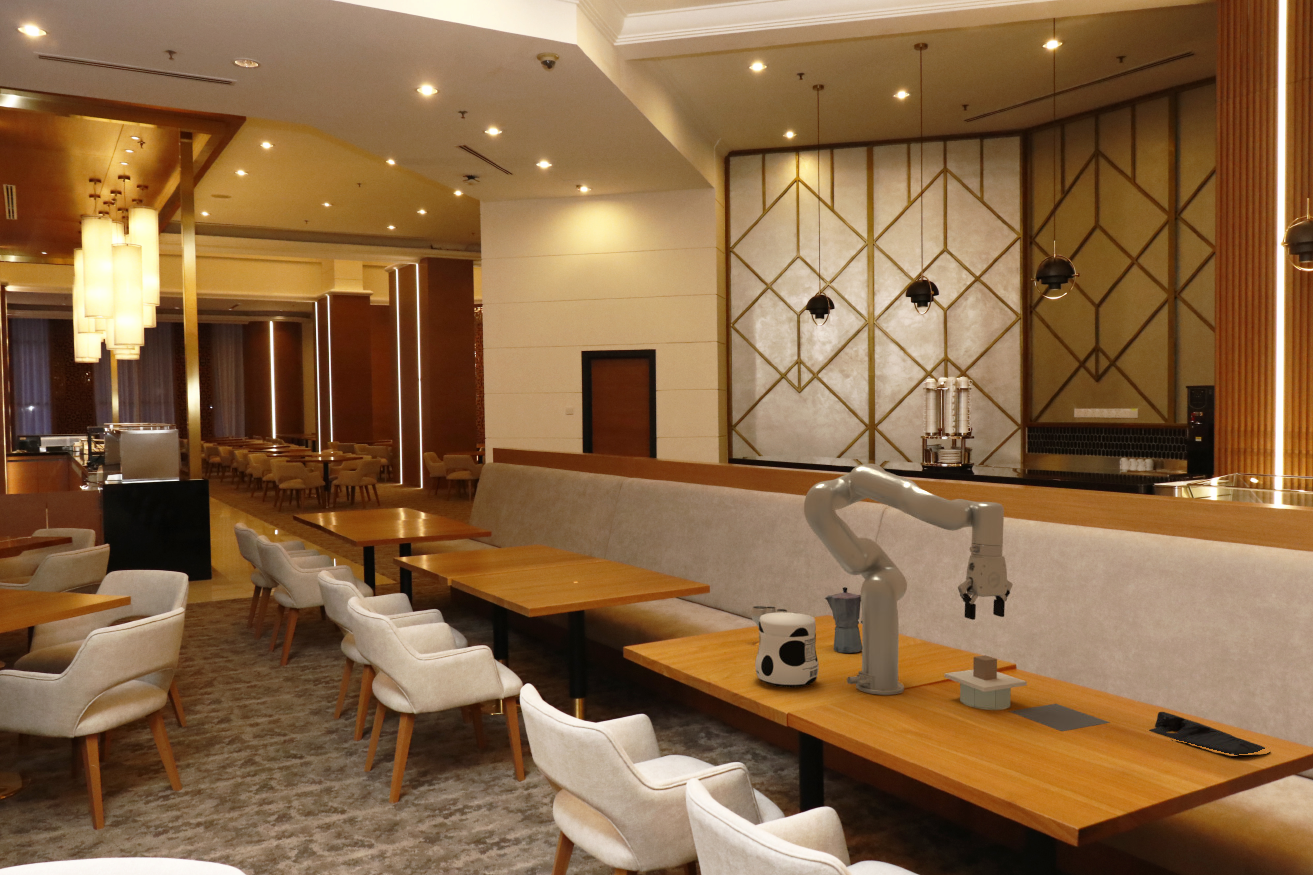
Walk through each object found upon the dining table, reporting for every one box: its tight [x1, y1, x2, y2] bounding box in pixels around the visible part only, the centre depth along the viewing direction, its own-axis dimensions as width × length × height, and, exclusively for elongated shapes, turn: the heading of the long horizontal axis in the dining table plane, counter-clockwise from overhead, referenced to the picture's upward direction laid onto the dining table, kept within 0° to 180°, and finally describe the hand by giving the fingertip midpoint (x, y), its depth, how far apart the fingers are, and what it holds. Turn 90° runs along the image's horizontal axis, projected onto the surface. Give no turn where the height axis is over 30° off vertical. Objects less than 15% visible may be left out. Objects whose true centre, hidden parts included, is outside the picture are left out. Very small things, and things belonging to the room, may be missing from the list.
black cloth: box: [1148, 711, 1266, 755], centre depth 209 cm, size 15×22×5 cm
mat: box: [1008, 703, 1111, 732], centre depth 224 cm, size 16×16×1 cm
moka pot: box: [824, 586, 862, 654], centre depth 290 cm, size 10×15×20 cm, turn 82°
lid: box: [944, 655, 1028, 692], centre depth 235 cm, size 14×14×6 cm
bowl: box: [959, 683, 1012, 711], centre depth 235 cm, size 12×12×6 cm
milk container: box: [754, 612, 820, 688], centre depth 254 cm, size 17×17×18 cm
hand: (984, 617), depth 235 cm, fingers open, 9 cm apart
